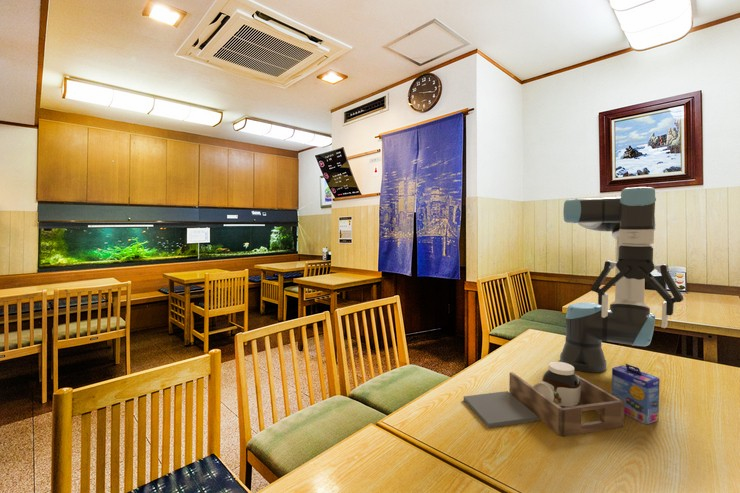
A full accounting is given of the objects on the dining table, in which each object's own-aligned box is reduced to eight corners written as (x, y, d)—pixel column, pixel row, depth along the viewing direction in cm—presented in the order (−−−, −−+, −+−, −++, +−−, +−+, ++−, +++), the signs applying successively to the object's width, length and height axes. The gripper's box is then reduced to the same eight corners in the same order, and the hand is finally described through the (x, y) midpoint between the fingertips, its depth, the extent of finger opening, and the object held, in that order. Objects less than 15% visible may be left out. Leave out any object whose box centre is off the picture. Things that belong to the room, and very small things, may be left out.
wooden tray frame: (509, 393, 113) (509, 372, 113) (561, 387, 117) (562, 366, 116) (560, 436, 91) (561, 410, 90) (623, 426, 94) (624, 401, 94)
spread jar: (582, 404, 106) (583, 366, 105) (572, 420, 98) (573, 379, 97) (540, 391, 114) (540, 356, 113) (527, 405, 106) (528, 367, 105)
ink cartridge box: (609, 407, 104) (611, 359, 103) (621, 403, 106) (623, 356, 105) (646, 425, 95) (648, 373, 93) (659, 420, 97) (661, 369, 96)
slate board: (463, 400, 110) (463, 396, 110) (507, 394, 112) (507, 391, 112) (488, 427, 95) (488, 423, 95) (538, 420, 98) (538, 416, 98)
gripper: (580, 243, 103) (578, 315, 105) (695, 248, 84) (690, 335, 86) (589, 242, 108) (587, 310, 109) (700, 246, 89) (696, 328, 91)
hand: (632, 321), depth 98 cm, fingers open, 13 cm apart
